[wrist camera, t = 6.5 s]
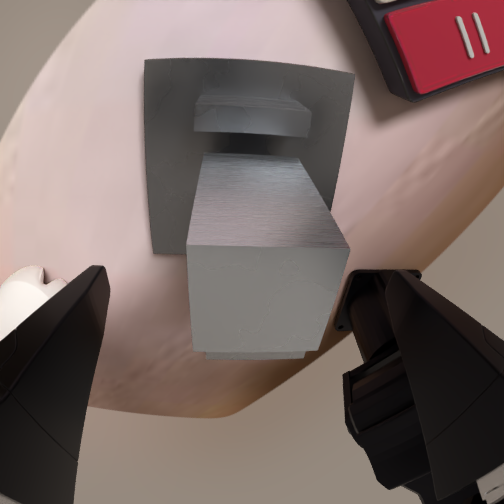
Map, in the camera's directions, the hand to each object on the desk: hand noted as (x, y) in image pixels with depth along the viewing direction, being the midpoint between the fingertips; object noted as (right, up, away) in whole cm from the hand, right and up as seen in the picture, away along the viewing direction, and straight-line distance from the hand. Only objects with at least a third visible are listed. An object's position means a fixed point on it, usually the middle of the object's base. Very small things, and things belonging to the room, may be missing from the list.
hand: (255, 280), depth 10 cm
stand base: (-1, +6, +9) cm, 11 cm away
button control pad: (+12, +18, +3) cm, 22 cm away
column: (0, +3, +5) cm, 6 cm away
